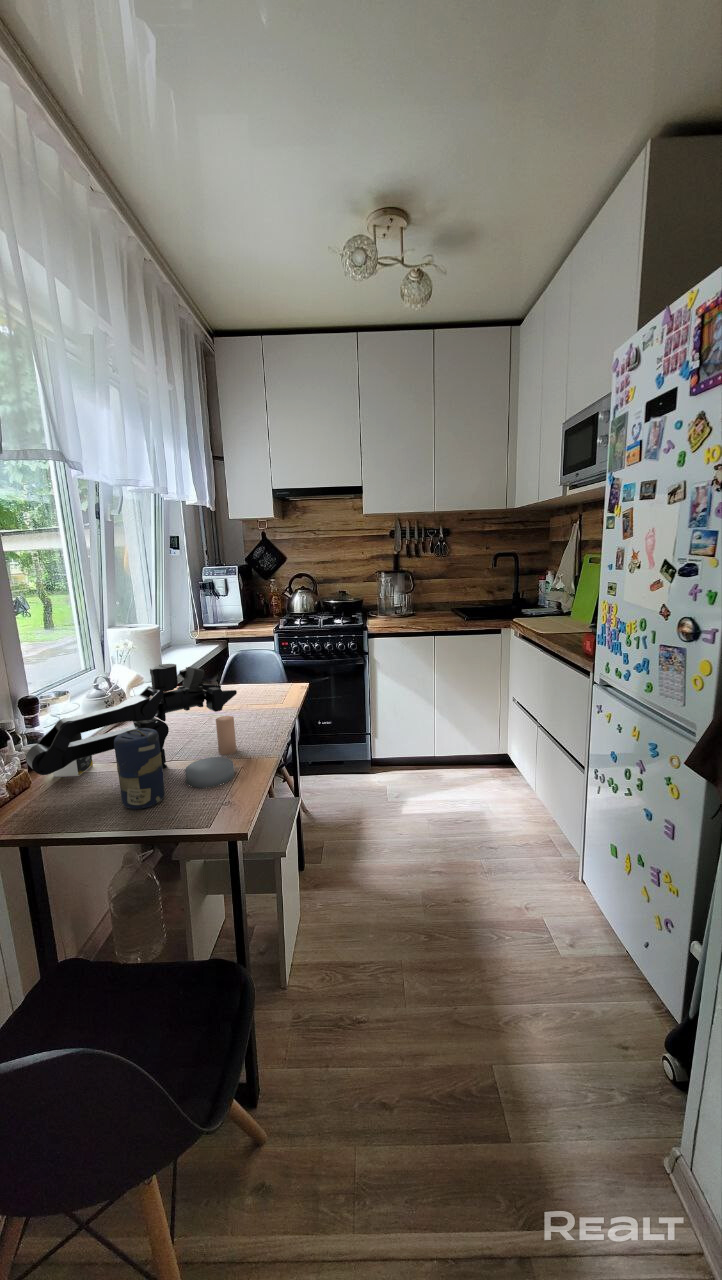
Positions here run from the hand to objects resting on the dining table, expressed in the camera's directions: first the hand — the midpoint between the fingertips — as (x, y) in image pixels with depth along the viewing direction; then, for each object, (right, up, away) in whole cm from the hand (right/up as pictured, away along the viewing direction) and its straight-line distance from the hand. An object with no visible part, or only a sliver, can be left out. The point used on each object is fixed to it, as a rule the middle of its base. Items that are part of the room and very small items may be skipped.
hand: (228, 689), depth 153 cm
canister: (-11, -24, -33) cm, 42 cm away
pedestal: (+1, -21, -21) cm, 30 cm away
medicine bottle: (-39, -21, -14) cm, 46 cm away
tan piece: (+1, -18, -5) cm, 18 cm away
